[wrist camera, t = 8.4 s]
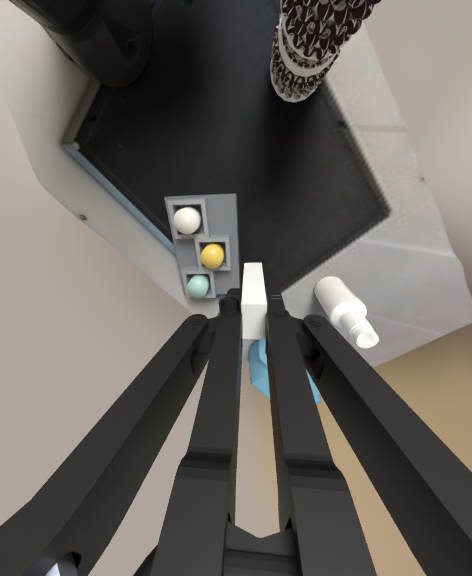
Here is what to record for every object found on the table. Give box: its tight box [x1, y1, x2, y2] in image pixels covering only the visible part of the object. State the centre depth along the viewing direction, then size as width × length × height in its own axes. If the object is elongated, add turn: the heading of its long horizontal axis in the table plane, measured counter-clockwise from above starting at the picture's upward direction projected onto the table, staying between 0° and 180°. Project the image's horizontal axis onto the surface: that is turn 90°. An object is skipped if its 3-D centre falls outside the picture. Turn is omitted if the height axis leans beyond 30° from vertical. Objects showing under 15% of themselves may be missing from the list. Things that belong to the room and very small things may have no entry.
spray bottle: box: [314, 276, 379, 348], centre depth 38 cm, size 7×7×18 cm
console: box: [164, 193, 240, 298], centre depth 41 cm, size 22×14×6 cm, turn 2°
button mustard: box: [201, 242, 225, 269], centre depth 38 cm, size 4×4×4 cm
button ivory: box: [174, 206, 203, 234], centre depth 35 cm, size 4×4×4 cm
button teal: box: [187, 274, 210, 298], centre depth 42 cm, size 4×4×4 cm
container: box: [249, 336, 321, 404], centre depth 51 cm, size 17×25×15 cm
